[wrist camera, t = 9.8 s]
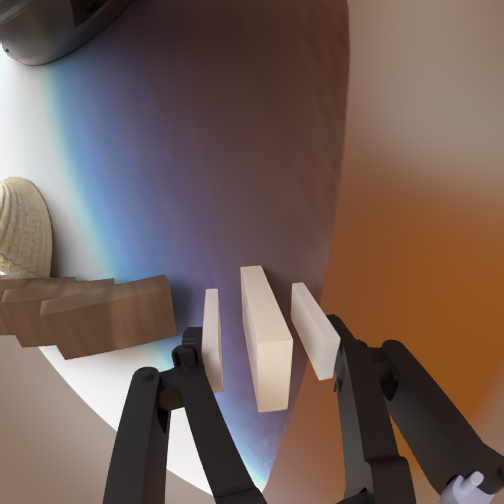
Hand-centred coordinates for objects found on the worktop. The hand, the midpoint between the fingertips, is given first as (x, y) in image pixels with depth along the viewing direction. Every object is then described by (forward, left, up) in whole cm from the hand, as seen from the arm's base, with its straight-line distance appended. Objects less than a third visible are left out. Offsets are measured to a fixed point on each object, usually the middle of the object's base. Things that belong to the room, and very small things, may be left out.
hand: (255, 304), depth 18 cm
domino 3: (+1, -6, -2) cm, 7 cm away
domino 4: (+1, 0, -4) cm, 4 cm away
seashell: (-6, -21, -4) cm, 22 cm away
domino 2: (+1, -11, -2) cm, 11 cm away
